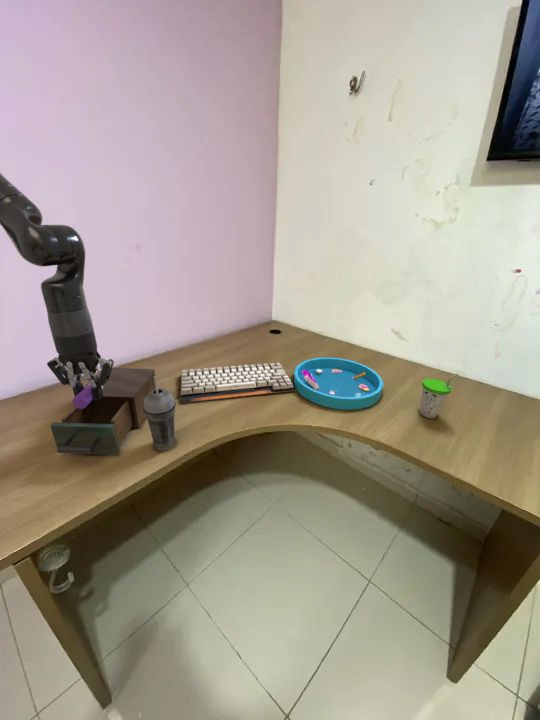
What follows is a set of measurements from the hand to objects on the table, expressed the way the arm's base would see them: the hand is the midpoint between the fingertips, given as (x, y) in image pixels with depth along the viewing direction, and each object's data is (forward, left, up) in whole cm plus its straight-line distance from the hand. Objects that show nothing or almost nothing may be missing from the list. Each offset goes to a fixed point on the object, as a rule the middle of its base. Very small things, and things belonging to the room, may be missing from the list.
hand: (89, 399), depth 72 cm
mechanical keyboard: (+31, +32, -13) cm, 46 cm away
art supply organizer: (+66, +33, -13) cm, 75 cm away
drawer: (0, 0, -12) cm, 12 cm away
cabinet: (0, +14, -13) cm, 19 cm away
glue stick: (+1, 0, 0) cm, 1 cm away
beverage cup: (+16, 0, -13) cm, 20 cm away
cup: (+91, +17, -13) cm, 93 cm away
